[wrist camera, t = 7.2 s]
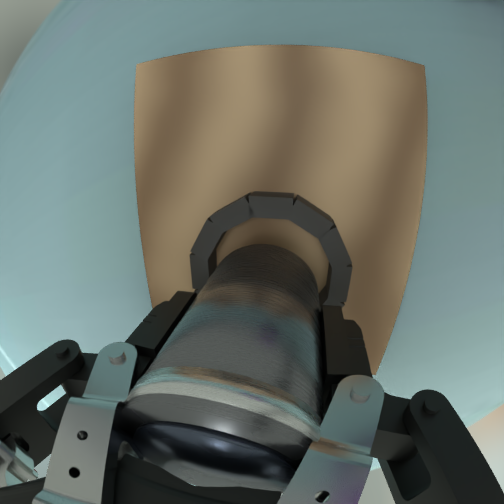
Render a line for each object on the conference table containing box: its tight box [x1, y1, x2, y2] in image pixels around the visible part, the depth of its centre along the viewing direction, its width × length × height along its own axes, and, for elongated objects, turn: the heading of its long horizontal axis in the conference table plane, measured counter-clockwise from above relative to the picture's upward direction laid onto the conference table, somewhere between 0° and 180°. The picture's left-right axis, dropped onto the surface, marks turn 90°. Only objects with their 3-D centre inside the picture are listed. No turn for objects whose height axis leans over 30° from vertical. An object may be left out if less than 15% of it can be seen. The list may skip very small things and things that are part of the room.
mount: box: [134, 45, 427, 375], centre depth 14 cm, size 16×20×3 cm
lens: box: [121, 244, 324, 493], centre depth 8 cm, size 5×5×8 cm
